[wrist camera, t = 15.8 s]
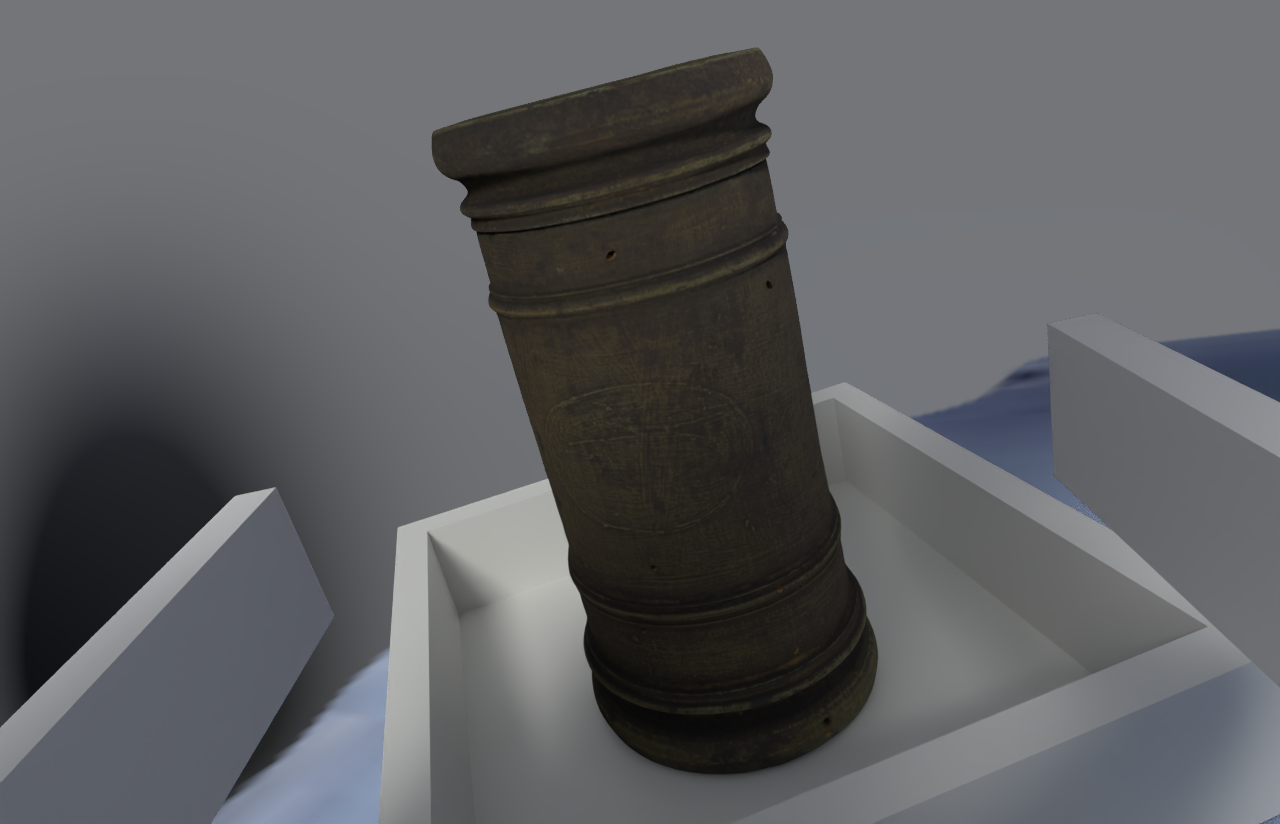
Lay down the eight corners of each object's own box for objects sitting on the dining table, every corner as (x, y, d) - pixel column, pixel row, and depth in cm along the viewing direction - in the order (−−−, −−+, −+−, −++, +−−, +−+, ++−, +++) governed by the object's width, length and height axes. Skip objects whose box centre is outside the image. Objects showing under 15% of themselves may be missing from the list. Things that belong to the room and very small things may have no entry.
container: (938, 706, 23) (857, 16, 16) (641, 832, 21) (417, 125, 14) (795, 557, 31) (704, 62, 24) (574, 640, 29) (412, 134, 23)
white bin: (859, 480, 37) (845, 381, 35) (1289, 809, 19) (1306, 638, 17) (437, 627, 34) (397, 527, 32) (455, 1197, 15) (364, 1039, 14)
